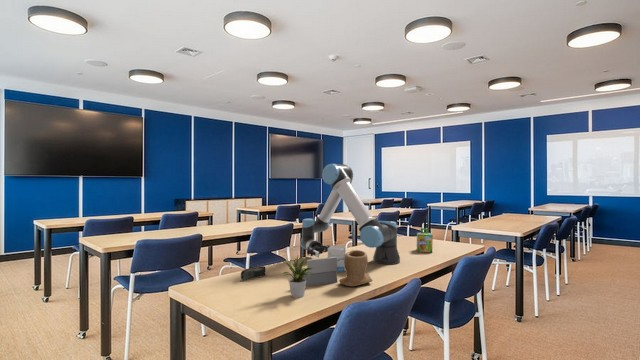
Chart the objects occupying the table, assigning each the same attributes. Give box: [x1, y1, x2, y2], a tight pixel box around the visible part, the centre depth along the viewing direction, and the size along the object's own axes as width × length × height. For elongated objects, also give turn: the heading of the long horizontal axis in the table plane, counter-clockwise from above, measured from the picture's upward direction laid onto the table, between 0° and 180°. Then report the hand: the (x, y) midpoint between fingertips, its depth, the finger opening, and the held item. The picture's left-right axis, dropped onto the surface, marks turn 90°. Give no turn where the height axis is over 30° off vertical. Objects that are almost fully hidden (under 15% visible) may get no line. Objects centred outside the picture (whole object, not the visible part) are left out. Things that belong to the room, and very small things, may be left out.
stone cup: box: [338, 249, 373, 287], centre depth 154 cm, size 15×12×15 cm
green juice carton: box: [416, 227, 434, 254], centre depth 225 cm, size 9×9×15 cm
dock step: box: [301, 257, 338, 287], centre depth 162 cm, size 14×16×11 cm
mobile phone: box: [239, 265, 266, 282], centre depth 165 cm, size 5×3×15 cm
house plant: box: [282, 255, 315, 299], centre depth 138 cm, size 14×14×16 cm
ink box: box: [327, 245, 346, 273], centre depth 180 cm, size 8×8×12 cm
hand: (329, 253), depth 186 cm, fingers open, 13 cm apart
